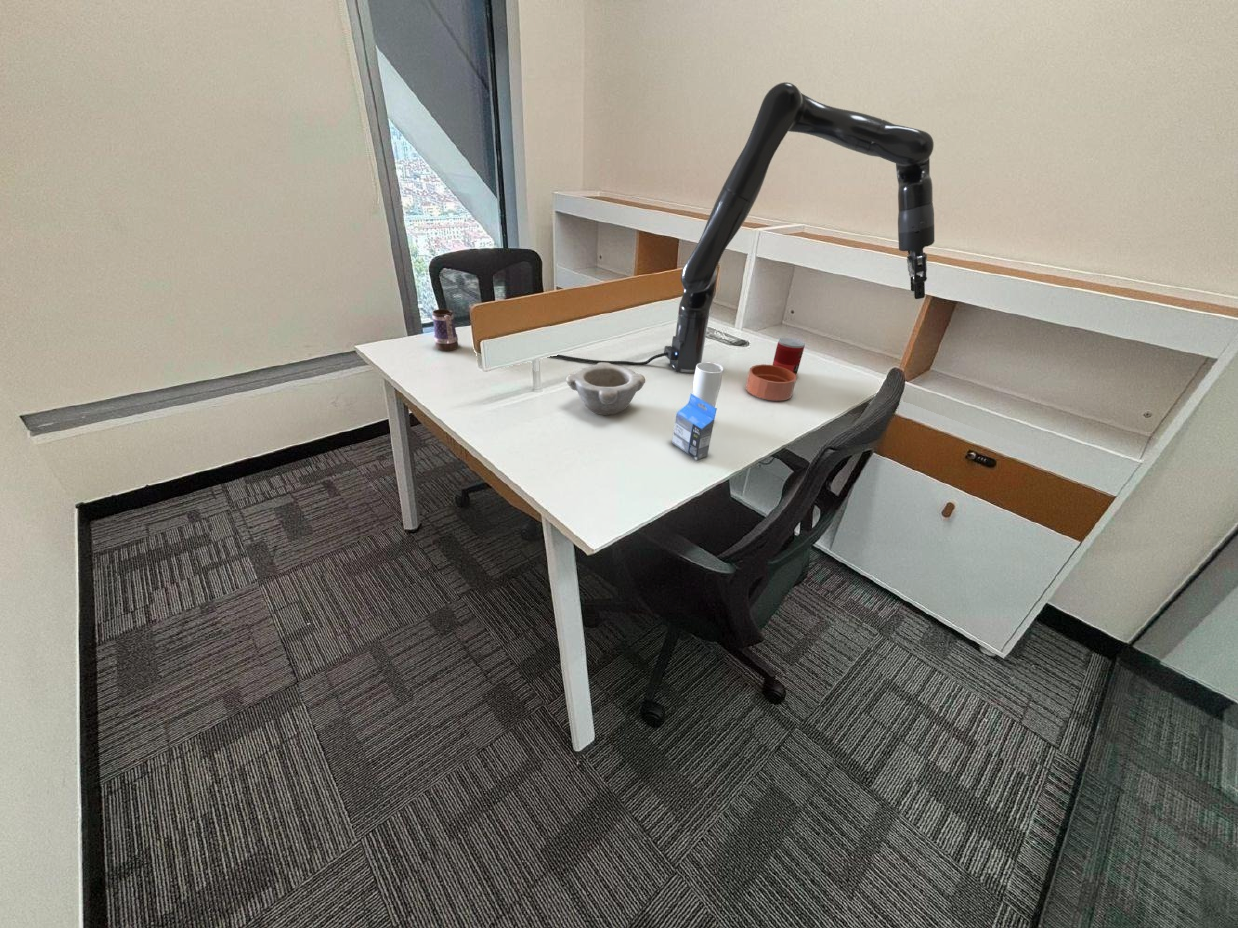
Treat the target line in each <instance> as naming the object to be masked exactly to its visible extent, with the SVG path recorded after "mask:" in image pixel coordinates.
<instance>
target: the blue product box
mask: <svg viewBox="0 0 1238 928" xmlns="http://www.w3.org/2000/svg"><path fill="white" fill-rule="evenodd" d="M688 399H689V400H688V403H687V404H686V405H684V406H683V407H682V408H681V409H679V410H678V411H676V412H675V419H674V427H673V435H672V442H671V443H672V445H675V446H676V447H677V448H678V449H680V450H682V451H683V452H684V453H686V454H688V455H689V456H690V457H692V459H694V460H696V461H698V460H701V459H704V458H706V457H708V456H709V450H710V445H711V439H712V436H713V435H712V434H713V428H714V424H715V420H716V414H717V410H718V408H716V406H715V407H713V406H711V405H710V404H708V403H706V402H705V401H703V400H701V399H700V398H698V397H696V396H694V395H693V393H690V395H689V398H688ZM698 404H700V405H701V404H703V406H704V407H706V409H707V410H705V409H703V408H701V407H700V406H698Z"/></svg>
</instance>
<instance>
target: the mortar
mask: <svg viewBox="0 0 1238 928" xmlns="http://www.w3.org/2000/svg"><path fill="white" fill-rule="evenodd" d="M565 382H566V384H567V386H568V387H569V388H570V389H571V390H573V391H576V392H577V394H578V395H579V398H580V400H581V401H582V403H583V404H584V406H585V407H586V408H587V409H588V411H591V412H592V413H595V414H598V415H605V416H610V415H616V414H619V413H621V412H623V411H624V410H625V409H626V408H627V407H628V406H629V405H630V404H631V402H632V401H633V398H634V397H635V396H636V393H638V392H639V391H640V390H641V389H643V387H644V385H645V383H646V378H645V376H644V375H643V374H642V373H637V372H636V371H634V370H632V369H631V368H628V367H626V366H623V365H619V364H610V363H605V362H601V363H595V364H592V365H588V366H585V367H583V368H581V369H579V370H577V371H575V373H569V375H567V376H566V378H565Z"/></svg>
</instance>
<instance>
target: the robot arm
mask: <svg viewBox="0 0 1238 928" xmlns="http://www.w3.org/2000/svg"><path fill="white" fill-rule="evenodd" d="M762 99H763V100H762V101H761V105H760V107H759V110H758V113H757V115H756V118H755V121H754V123H753V126H752V129H751V131H750V133H749V135H748V138H747V140H746V143H745V144H744V147H743V149H742V151H741V152H740V154H739V156H738V157H737V159H736V161H735V163H734V165H733V166H732V168H731V170H730V172H729V174H728V176H727V178H726V180H725V181H724V183H723V185H722V187H721V189H720V192H719V194H718V196H717V198H716V199H715V203H714V204H713V208H712V210H711V211H710V214H709V217H708V219H707V221H706V224H705V227H704V229H703V231H702V234H701V237H700V239H699V240H698V243H697V244H696V246H695V248H694V250H693V251H692V253H691V255H690V256H689V258H688V259H687V261H686V263H685V264H684V266H683V267H682V269H681V272H680V282H681V286H682V289H683V292H682V295H681V299H680V302H679V305H678V312H677V321H676V327H675V335H673V336H672V339H671V345H669V346H668V345H666V346H664V348H663V352H661V353H657V354H655V355H653V356H651V357H649V358H648V359H647V360H645V361H639V362H638V361H637V362H635V361H628V360H601V359H600V360H599V359H590V358H589V359H588V358H581V357H575V356H569V355H564V354H558V355H557V356H553V357H552V358H556V359H557V358H559V359H564V360H568V361H576V362H581V363H582V362H583V363H589V364H598V363H601V362H605V363H610V364H613V365H628V366H644V365H648V364H650V363H651V362H653V361H654V360H656V359H658V358H662V357H666V358H667V359H668V360H669V364H668V365H669V367H671V368H672V369H673V370H674V371H675V372H676V373H685V374H695V370H696V365H697V364H699V363H702V362H703V355H704V349H705V343H706V336H707V330H708V325H709V319H710V312H711V308H712V304H713V300H714V295H715V290H716V285H717V279H718V268H717V267H718V265H719V263H720V260H721V258H722V256H723V254H724V252H725V250H726V248H728V246H729V244H731V242H732V240H733V239H734V238H735V236H736V235H737V233H738V232H739V231H740V229H741V227H742V226H743V224H744V222H745V221H746V219H747V218H748V216H749V214H750V213H751V210H752V208H753V207H754V205H755V202H756V201H757V198H758V196H759V194H760V192H761V189H762V186H763V184H764V182H765V178H766V177H767V173H768V170H769V167H770V164H771V162H772V159H773V158H774V156H775V154H776V152H777V151H778V148H779V147H780V145H781V144H782V142H783V140H784V138H785V137H786V136H787V134H788V132H789V133H790V132H791V133H798V134H805V135H810V136H813V137H817V138H820V139H823V140H825V141H828V142H830V143H833V144H835V145H838V146H840V147H842V148H845V149H848V150H851V151H854V152H856V153H860V154H863V155H866V156H870V157H874V158H875V157H877V158H880V159H883V160H886V161H888V162H890V163H894V164H895V169H896V177H897V184H898V189H897V209H898V213H897V236H898V237H897V238H898V240H897V241H898V250H899V251H900V252H907V253H908V254H907V256H906V263H907V272H908V276H909V278H910V279H909V280H910V291H911V292H913V298H914V300H920V299H924V298H925V297H926V281H927V279H928V277H927V272H928V266H927V263H928V262H927V261H928V255H927V253H926V252H924V249H925V248H926V247H930V246H932V245H933V244H934V243H935V209H934V204H933V203H934V199H933V194H934V193H933V192H934V191H933V187H934V186H933V180H932V178H931V172H930V171H931V170H930V169H931V167H930V159H931V158H930V157H931V155H932V154H933V151H934V147H935V144H934V143H935V142H934V138H933V137H932V134H930V133H928V132H927V131H924V130H921V129H917V128H913V127H909V126H905V125H900V124H895V123H892V122H890V121H889V120H886V119H882V118H879V117H877V116H873V115H870V114H867V113H862V112H859V111H854V110H849V109H843V108H838V107H834V106H830V105H827V104H825V103H822V102H819V101H816V100H815V99H813V98H811V97H809V96H808V95H805V94H804V93H802V92H801V90H800V89H799V87H797V86H796V85H795V84H793V83H792V82H786V81H785V82H779V83H777V84H776V85H774V86H773V87H771V88H770V89H769V90H768V91H767V93H766V94H765V95H764V98H762Z"/></svg>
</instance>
